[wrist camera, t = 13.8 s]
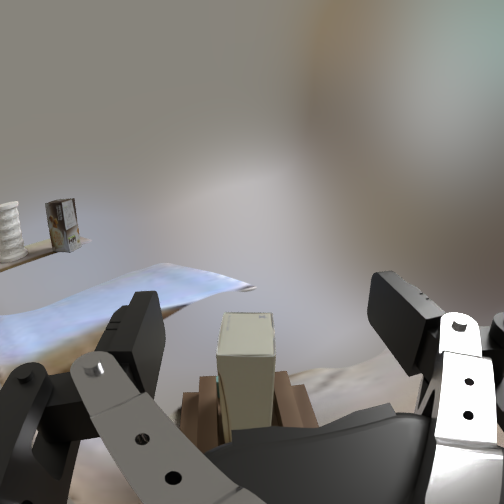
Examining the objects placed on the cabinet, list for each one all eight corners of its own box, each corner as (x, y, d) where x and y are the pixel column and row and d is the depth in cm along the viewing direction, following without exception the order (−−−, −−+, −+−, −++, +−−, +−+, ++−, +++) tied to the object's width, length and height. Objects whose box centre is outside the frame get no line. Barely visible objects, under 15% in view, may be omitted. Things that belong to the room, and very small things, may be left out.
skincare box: (229, 405, 31) (222, 310, 27) (270, 405, 31) (273, 310, 27) (224, 449, 25) (212, 354, 21) (272, 450, 25) (276, 354, 21)
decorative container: (2, 265, 73) (-9, 209, 67) (-3, 258, 80) (-13, 208, 74) (31, 255, 82) (22, 201, 77) (23, 249, 89) (15, 200, 83)
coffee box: (82, 246, 90) (75, 197, 84) (70, 253, 84) (62, 201, 78) (64, 245, 91) (57, 199, 86) (51, 251, 85) (44, 203, 80)
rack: (303, 390, 34) (305, 368, 33) (327, 462, 24) (333, 443, 22) (184, 398, 33) (180, 376, 32) (178, 475, 22) (171, 456, 21)
